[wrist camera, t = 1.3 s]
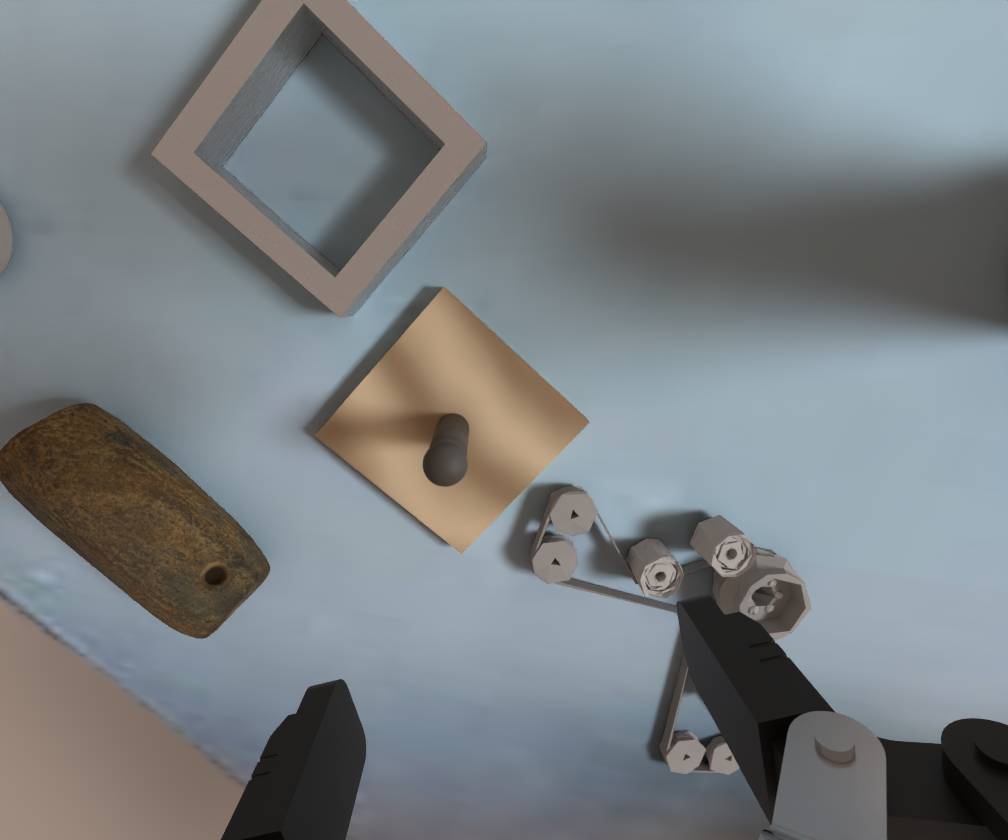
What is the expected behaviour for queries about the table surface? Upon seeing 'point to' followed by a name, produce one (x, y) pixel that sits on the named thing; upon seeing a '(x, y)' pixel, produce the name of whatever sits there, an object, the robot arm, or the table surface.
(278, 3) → the link
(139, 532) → the brown cylinder
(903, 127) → the table surface
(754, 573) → the pulley system
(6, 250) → the beverage can
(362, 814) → the table surface
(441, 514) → the wooden board with peg
